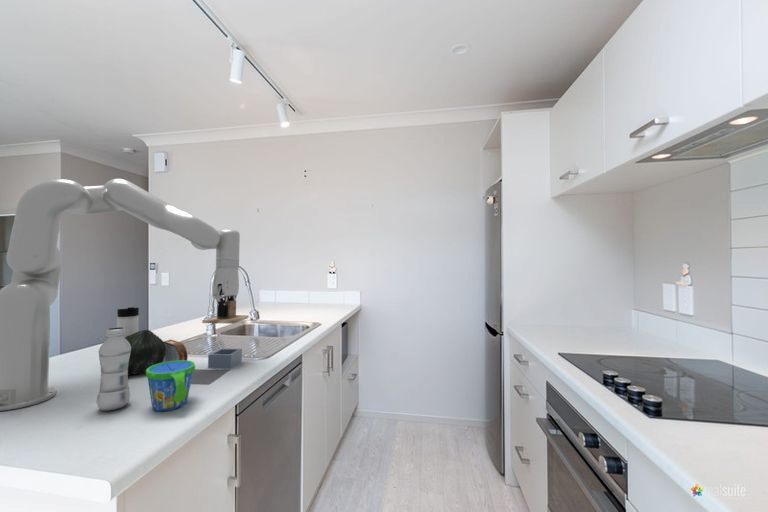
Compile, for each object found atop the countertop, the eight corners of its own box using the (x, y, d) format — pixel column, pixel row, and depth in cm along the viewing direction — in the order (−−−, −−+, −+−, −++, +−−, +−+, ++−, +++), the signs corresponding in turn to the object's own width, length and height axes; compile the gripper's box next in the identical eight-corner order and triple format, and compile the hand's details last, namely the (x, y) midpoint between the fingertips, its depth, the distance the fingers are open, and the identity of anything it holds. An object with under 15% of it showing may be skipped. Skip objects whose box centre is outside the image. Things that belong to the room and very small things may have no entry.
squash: (109, 353, 110) (112, 324, 103) (162, 347, 120) (168, 321, 113) (107, 390, 102) (110, 362, 95) (164, 381, 111) (171, 355, 104)
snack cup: (200, 410, 81) (201, 369, 81) (149, 424, 74) (150, 379, 74) (186, 391, 92) (187, 355, 93) (141, 401, 85) (142, 362, 85)
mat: (208, 385, 96) (209, 384, 97) (165, 385, 97) (166, 383, 97) (230, 371, 110) (230, 370, 110) (192, 370, 110) (192, 369, 110)
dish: (231, 369, 111) (231, 355, 111) (208, 369, 111) (208, 354, 111) (241, 362, 119) (241, 348, 119) (220, 362, 119) (220, 348, 119)
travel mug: (118, 365, 114) (120, 308, 115) (113, 361, 118) (115, 306, 119) (140, 361, 119) (141, 306, 120) (134, 357, 123) (135, 305, 124)
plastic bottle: (102, 416, 77) (105, 332, 77) (92, 409, 80) (94, 328, 81) (134, 406, 82) (136, 327, 83) (123, 400, 86) (125, 324, 86)
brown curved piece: (188, 367, 113) (188, 343, 113) (178, 370, 110) (179, 345, 110) (167, 360, 121) (167, 337, 121) (157, 362, 118) (158, 339, 118)
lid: (202, 323, 110) (202, 302, 110) (219, 317, 121) (219, 298, 121) (234, 323, 110) (234, 302, 110) (248, 318, 121) (248, 299, 121)
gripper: (228, 264, 124) (227, 311, 124) (203, 264, 107) (202, 319, 107) (248, 264, 124) (247, 312, 124) (226, 264, 107) (224, 319, 107)
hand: (226, 314), depth 115 cm, fingers closed on lid, 4 cm apart
